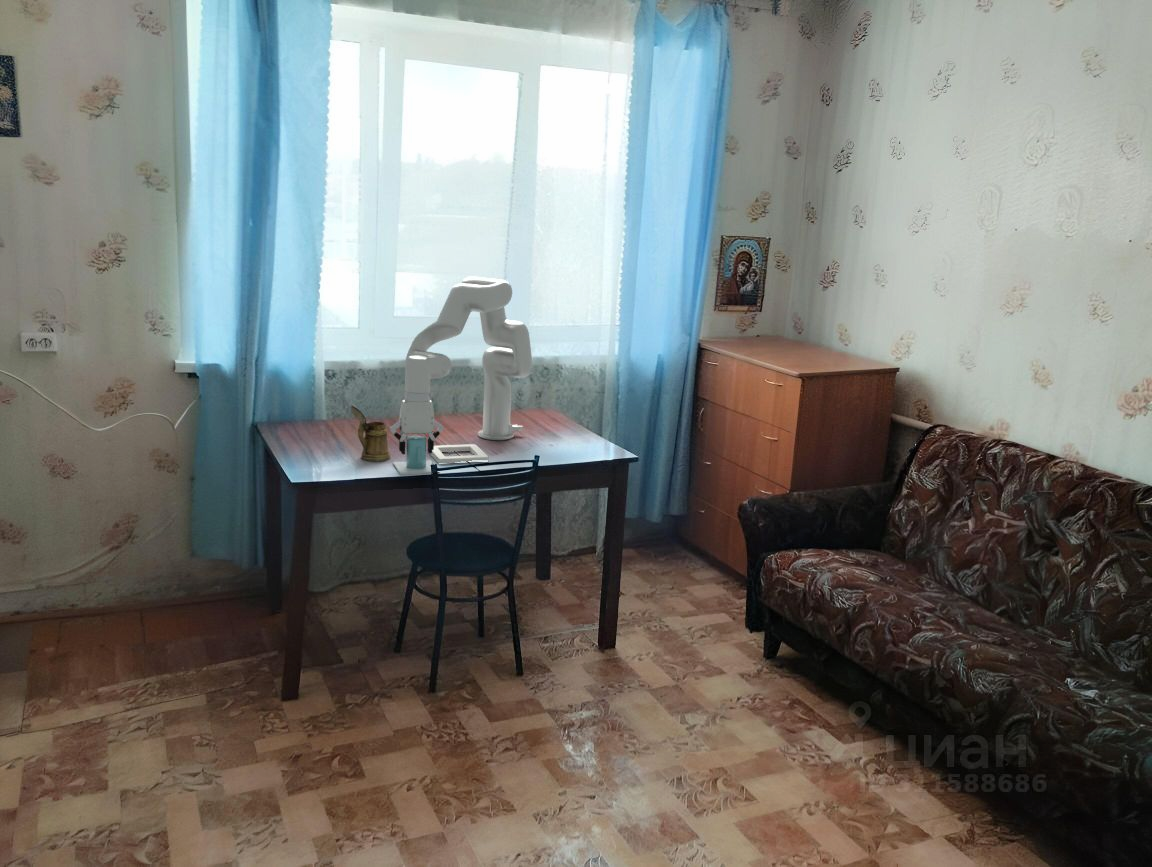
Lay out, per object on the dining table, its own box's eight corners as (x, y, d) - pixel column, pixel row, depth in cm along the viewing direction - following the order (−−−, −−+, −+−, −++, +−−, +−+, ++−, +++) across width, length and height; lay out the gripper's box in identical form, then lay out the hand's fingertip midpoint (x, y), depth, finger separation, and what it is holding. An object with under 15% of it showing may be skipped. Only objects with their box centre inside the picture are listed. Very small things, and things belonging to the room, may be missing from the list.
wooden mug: (343, 458, 309) (343, 402, 305) (380, 452, 318) (380, 398, 314) (358, 465, 303) (359, 408, 299) (395, 459, 312) (396, 403, 308)
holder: (475, 449, 329) (475, 444, 329) (488, 462, 315) (488, 456, 314) (427, 451, 323) (428, 445, 323) (439, 464, 309) (439, 459, 308)
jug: (404, 464, 305) (404, 436, 303) (423, 463, 307) (424, 435, 305) (409, 471, 298) (410, 443, 295) (429, 470, 300) (429, 442, 298)
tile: (430, 462, 311) (430, 460, 311) (439, 473, 300) (439, 471, 300) (392, 464, 307) (392, 462, 306) (400, 474, 296) (400, 473, 296)
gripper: (442, 393, 304) (441, 448, 309) (386, 394, 298) (385, 450, 302) (448, 398, 298) (447, 454, 302) (391, 400, 291) (390, 457, 296)
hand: (416, 452), depth 302 cm, fingers open, 7 cm apart
